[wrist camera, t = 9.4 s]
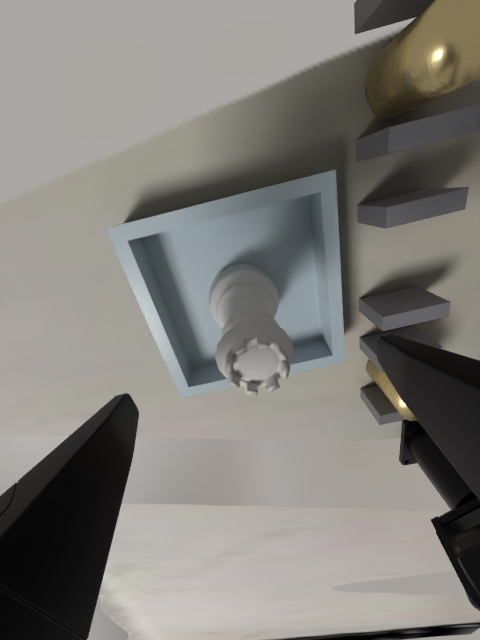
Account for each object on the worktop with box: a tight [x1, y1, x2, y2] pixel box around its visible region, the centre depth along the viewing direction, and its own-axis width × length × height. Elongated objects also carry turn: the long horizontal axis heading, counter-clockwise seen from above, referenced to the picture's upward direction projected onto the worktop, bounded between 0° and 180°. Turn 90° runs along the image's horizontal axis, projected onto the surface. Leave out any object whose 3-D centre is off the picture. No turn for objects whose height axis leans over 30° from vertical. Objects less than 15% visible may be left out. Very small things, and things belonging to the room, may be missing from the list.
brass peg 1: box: [366, 359, 418, 421], centre depth 19 cm, size 3×3×4 cm
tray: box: [106, 170, 345, 398], centre depth 16 cm, size 12×12×2 cm
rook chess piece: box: [208, 264, 294, 396], centre depth 13 cm, size 4×4×8 cm
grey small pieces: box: [354, 0, 480, 425], centre depth 15 cm, size 24×4×3 cm, turn 13°
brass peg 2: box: [365, 0, 480, 118], centre depth 11 cm, size 3×3×4 cm
